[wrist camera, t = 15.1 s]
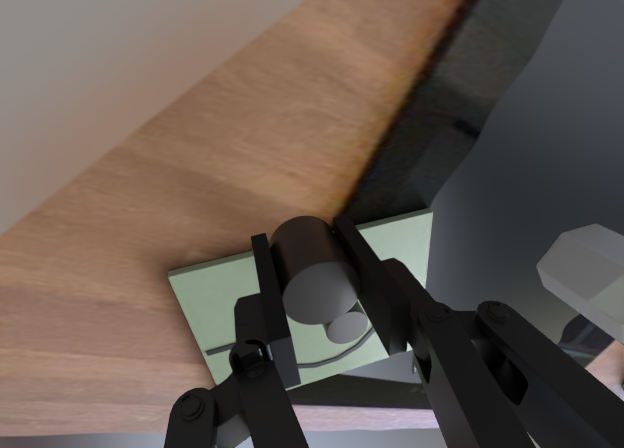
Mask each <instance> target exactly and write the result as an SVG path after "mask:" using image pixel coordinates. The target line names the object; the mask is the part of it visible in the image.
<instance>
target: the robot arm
mask: <svg viewBox="0 0 624 448" xmlns="http://www.w3.org/2000/svg"><path fill="white" fill-rule="evenodd" d="M333 225H334V234H335V235H336V237H337V239H338V240H339V242H340V244H341V245H342V247H343V249H344V250H345V252H346V254H347V255H348V257H349V259H350V260H351V262H352V263H353V265H354V267H355V268H356V270H357V272H358V274H359V276H360V279H361V291H360V295H359V297H358V300H359V302H360V304H361V306H362V307H363V309H364V311H365V313H366V315H367V317H368V319H369V320H370V322H371V324H372V326H373V328H374V330H375V331H376V333H377V335H378V337H379V339H380V341H381V343H382V344H383V346H384V348H385V350H386V352H387V354H388V355H389V357H390V356H393V355H396V354H399V353H403V352H406V351H407V344H408V343H409V345H410V346H411V348H412V349H413V359H412V373H415V370H416V368H417V371H418V373H419V376H420V379H421V381H422V384H423V386H424V389H425V391H426V394H427V396H428V399H429V401H430V404H431V407H432V409H433V412H434V414H435V417H436V419H437V422H438V424H439V427H440V429H441V432H442V435H443V437H444V440H445V442H446V445H447V447H448V448H536V447H535V445H534V443H533V442H532V440H531V438H530V437H529V435H530V436H531V437H532V438H533V439H534V441H535V442H536V443H537V444H538V445H539V446H540V448H624V401H623V400H622V399H620V398H619V397H618V396H617V395H616V394H614V393H613V392H612V391H611V390H610V389H608V388H607V387H606V386H605V385H604V384H602V383H601V382H600V381H599V380H598V379H596V378H595V377H594V376H593V375H592V374H590V373H589V372H588V371H587V370H586V369H584V368H583V367H582V366H581V365H580V364H578V363H577V362H576V361H575V360H574V359H572V358H571V357H570V356H569V355H568V354H566V353H565V352H564V351H563V350H562V349H560V348H559V347H558V346H557V345H556V344H554V343H553V342H552V341H551V340H550V339H548V338H547V337H546V336H545V335H544V334H543V333H541V332H540V331H539V330H538V329H537V328H535V327H534V326H533V325H532V324H531V323H529V322H528V321H527V320H526V319H525V318H523V317H522V316H521V315H520V314H519V313H517V312H516V311H515V310H514V309H512V308H511V307H509V306H508V305H506V304H503V303H501V302H498V301H485V302H483V303H481V304H479V306H478V308H477V311H455V310H452V309H450V307H448V306H447V305H445V304H443V303H439V302H436V301H435V300H434V299H433V298H432V297H431V296H430V294H429V293H428V292H427V291H426V289H425V288H424V287H423V286H422V285H421V283H420V282H419V281H418V280H417V279H416V278H415V276H414V275H413V274H412V273H411V272H410V270H409V269H408V268H407V267H406V265H405V264H404V263H403V262H401V261H399V260H397V259H396V258H394V257H393V258H389V259H385V260H382V261H381V260H380V259H379V258H378V256H377V255H376V254H375V252H374V251H373V249H372V248H371V247H370V245H369V244H368V243H367V241H366V240H365V239H364V237H363V236H362V235H361V233H360V232H359V231H358V229H357V228H356V226H355V225H354V224H353V222H352V221H351V220H350V218H349V217H348V216H347V215H343V216H338V217H334V218H333ZM251 241H252V247H253V253H254V259H255V265H256V271H257V277H258V283H259V289H260V293H256V294H252V295H248V296H244V297H240V298H238V299H237V302H236V304H235V306H234V319H235V320H234V321H235V337H236V344H235V345H234V346H233V347H232V348H231V351H230V353H229V364H230V366H231V369H232V373H231V374H230V375H229V376H228V378H227V379H225V380H224V381H223V382H221V383H220V384H218V385H217V386H215V387H214V388H212V389H210V390H208V389H205V388H194V389H192V390H189V391H187V392H186V393H184V394H183V395H182V396H181V397H179V398H178V400H177V401H176V402H175V404H174V405H173V408H172V410H171V413H170V417H169V423H168V428H167V433H166V439H165V444H164V448H235V447H236V446H237V445H239V444H240V443H241V442H243V441H244V440H246V439H247V438H248V437H250V436H251V438H252V442H253V445H254V448H309V446H308V444H307V442H306V439H305V437H304V434H303V432H302V429H301V427H300V424H299V422H298V420H297V417H296V415H295V412H294V410H293V407H292V405H291V402H290V400H289V398H288V395H287V393H286V390H285V389H287V388H290V387H293V386H297V385H300V384H301V379H300V374H299V369H298V365H297V360H296V355H295V350H294V346H293V341H292V336H291V332H290V328H289V324H288V320H287V316H286V312H285V308H284V304H283V300H282V296H281V292H280V288H279V284H278V280H277V276H276V272H275V268H274V264H273V260H272V256H271V252H270V248H269V244H268V240H267V236H266V233H263V234H259V235H254V236H251ZM526 431H527V432H528V433H529V435H528V433H527V432H526Z"/></svg>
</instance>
